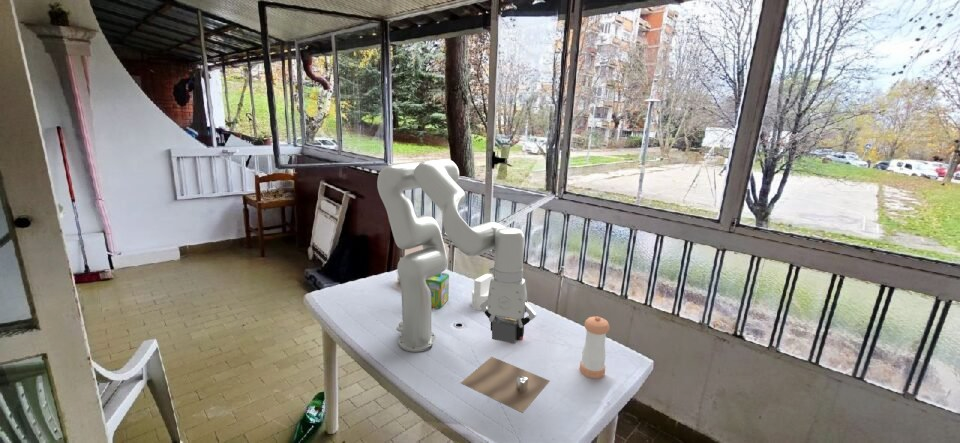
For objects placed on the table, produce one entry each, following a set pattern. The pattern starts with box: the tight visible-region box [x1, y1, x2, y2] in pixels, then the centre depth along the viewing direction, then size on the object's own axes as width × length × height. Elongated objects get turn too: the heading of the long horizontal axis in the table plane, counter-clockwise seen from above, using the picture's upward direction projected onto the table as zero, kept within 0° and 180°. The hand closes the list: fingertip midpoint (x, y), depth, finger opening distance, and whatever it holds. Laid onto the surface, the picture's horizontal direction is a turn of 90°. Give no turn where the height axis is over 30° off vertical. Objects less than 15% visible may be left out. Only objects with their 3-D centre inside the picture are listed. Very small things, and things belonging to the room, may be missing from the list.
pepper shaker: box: [579, 316, 611, 379], centre depth 120 cm, size 7×7×19 cm
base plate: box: [460, 356, 551, 414], centre depth 116 cm, size 20×16×2 cm
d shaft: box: [516, 376, 528, 393], centre depth 113 cm, size 3×3×3 cm
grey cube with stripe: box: [491, 316, 518, 345], centre depth 112 cm, size 6×6×5 cm
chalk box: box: [426, 272, 450, 309], centre depth 165 cm, size 9×9×15 cm
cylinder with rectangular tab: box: [471, 273, 493, 311], centre depth 164 cm, size 9×9×12 cm
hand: (506, 335), depth 112 cm, fingers closed on grey cube with stripe, 6 cm apart
